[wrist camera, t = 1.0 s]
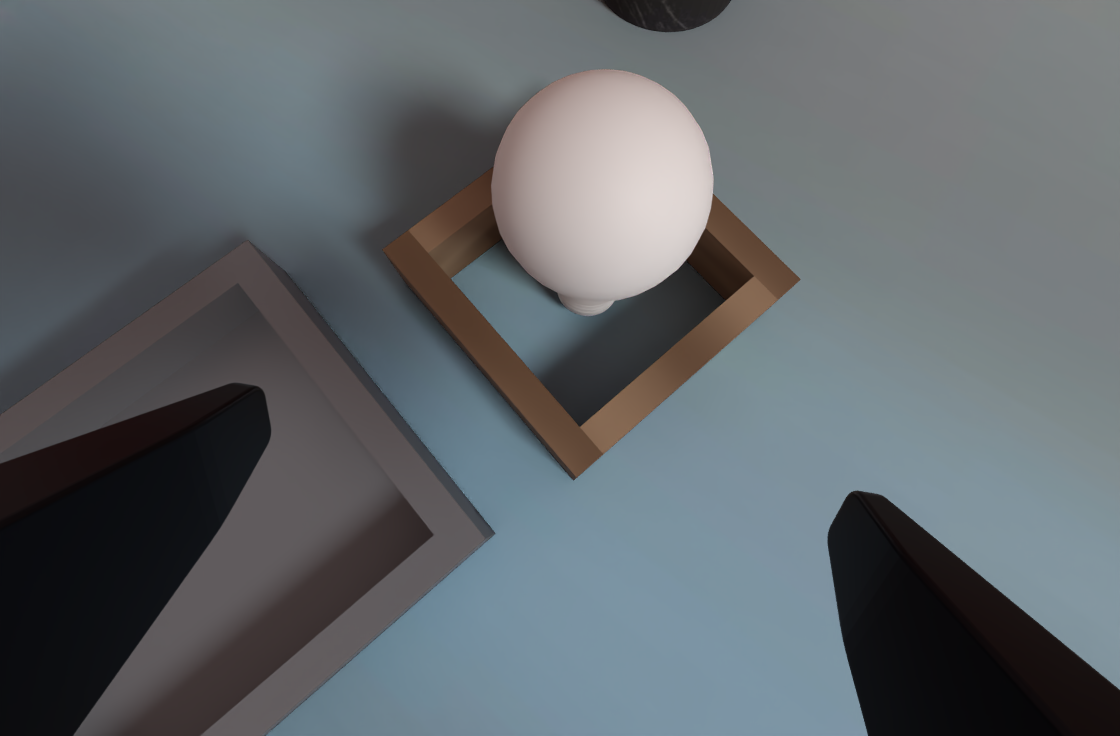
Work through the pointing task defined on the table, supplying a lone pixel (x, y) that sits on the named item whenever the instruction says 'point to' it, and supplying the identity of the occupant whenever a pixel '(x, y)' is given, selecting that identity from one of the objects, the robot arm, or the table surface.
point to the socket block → (427, 269)
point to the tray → (263, 504)
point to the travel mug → (668, 13)
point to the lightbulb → (602, 187)
